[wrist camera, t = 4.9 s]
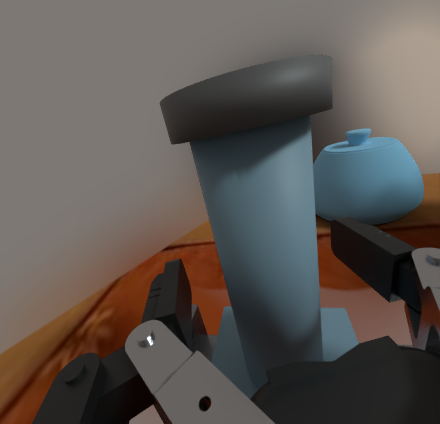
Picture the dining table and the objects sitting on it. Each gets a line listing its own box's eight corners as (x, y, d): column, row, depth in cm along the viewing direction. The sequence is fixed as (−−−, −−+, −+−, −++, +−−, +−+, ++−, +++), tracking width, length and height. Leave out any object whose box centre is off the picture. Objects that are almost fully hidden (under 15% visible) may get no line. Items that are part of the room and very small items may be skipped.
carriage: (208, 468, 11) (38, 117, 5) (232, 332, 17) (174, 115, 11) (401, 513, 8) (539, -43, 2) (344, 337, 15) (344, 70, 9)
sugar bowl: (392, 186, 38) (398, 116, 34) (449, 226, 25) (471, 119, 21) (301, 196, 43) (297, 135, 39) (309, 233, 30) (304, 148, 25)
